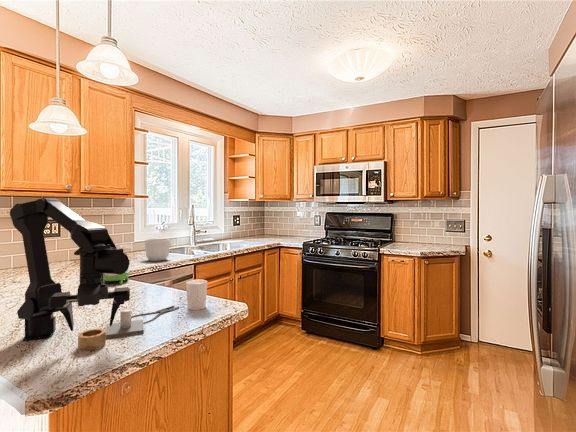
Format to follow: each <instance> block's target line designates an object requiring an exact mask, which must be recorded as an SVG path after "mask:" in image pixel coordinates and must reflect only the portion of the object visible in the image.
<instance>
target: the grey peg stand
mask: <svg viewBox="0 0 576 432" xmlns="http://www.w3.org/2000/svg"><path fill="white" fill-rule="evenodd" d="M119 315H120V317H119V319H120V322H113V323H112V326H110V323H108V325H107V330H106V339H113V338H119V337H125V336H126V337H127V336H133V335H141V334H144V329H145V328H144V324H143V322H144V319H136V320H132V318H131V316H132V309H129V308H128V309H121V310H120V314H119Z"/></svg>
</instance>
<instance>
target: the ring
mask: <svg viewBox="0 0 576 432" xmlns="http://www.w3.org/2000/svg"><path fill="white" fill-rule="evenodd" d="M106 333H107V330H106V329H104V328H92V329H91V328H90V329H87V330H84V331H82V332H80V333H79V334H78V335H77V349H78V350H79V351H82V352H83V351H84V352H85V351H86V352H89V351H95V350H97V349H100V348H102V347H104V346H106V343H107V338H106Z"/></svg>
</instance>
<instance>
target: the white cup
mask: <svg viewBox="0 0 576 432" xmlns="http://www.w3.org/2000/svg"><path fill="white" fill-rule="evenodd" d="M185 285H186V286H185V289H186V291H185V292H186V301H187V302H186V303H187V308H186V309H188V310H190V311H191V310H192V311H199V310H203V309H205V308H206V305H207V295H208V294H207V293H208V280H205V279H191V280H188V281H186V282H185Z"/></svg>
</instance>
